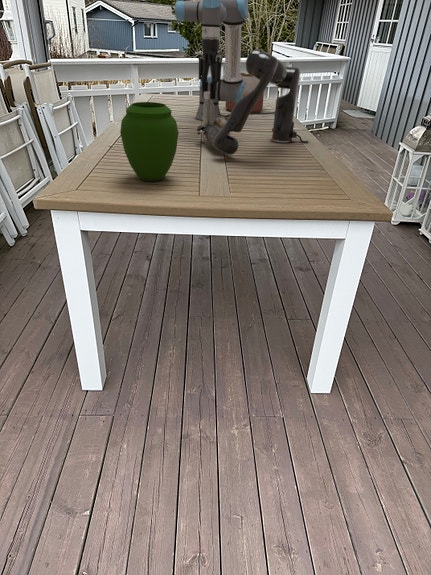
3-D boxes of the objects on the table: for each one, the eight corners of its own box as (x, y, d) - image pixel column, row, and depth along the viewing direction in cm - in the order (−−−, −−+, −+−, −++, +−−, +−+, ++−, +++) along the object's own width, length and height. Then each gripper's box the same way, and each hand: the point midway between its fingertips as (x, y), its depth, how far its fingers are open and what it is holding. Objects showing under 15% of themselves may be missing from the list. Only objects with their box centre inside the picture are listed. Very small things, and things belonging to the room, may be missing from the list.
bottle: (209, 140, 201) (211, 93, 189) (214, 143, 197) (216, 94, 186) (200, 141, 198) (201, 93, 187) (205, 143, 195) (206, 94, 184)
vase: (131, 189, 135) (125, 110, 122) (118, 172, 150) (112, 100, 137) (186, 184, 142) (187, 109, 129) (169, 168, 157) (167, 99, 144)
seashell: (228, 132, 219) (229, 116, 215) (229, 134, 214) (230, 118, 210) (210, 131, 218) (211, 115, 213) (211, 134, 213) (212, 117, 209)
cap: (213, 97, 190) (213, 91, 188) (214, 99, 186) (214, 93, 184) (203, 97, 189) (203, 91, 188) (203, 98, 185) (204, 92, 184)
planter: (266, 114, 273) (270, 77, 261) (229, 113, 269) (231, 75, 257) (257, 107, 294) (260, 73, 283) (222, 107, 290) (224, 72, 278)
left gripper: (190, 37, 178) (190, 96, 190) (218, 39, 167) (216, 101, 180) (203, 38, 182) (201, 95, 195) (231, 40, 172) (228, 100, 184)
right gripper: (231, 126, 182) (221, 118, 196) (200, 126, 179) (191, 118, 193) (230, 143, 186) (220, 135, 200) (199, 143, 183) (191, 135, 197)
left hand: (208, 98), depth 187 cm, fingers closed on cap, 4 cm apart
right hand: (206, 127), depth 196 cm, fingers closed on bottle, 5 cm apart
